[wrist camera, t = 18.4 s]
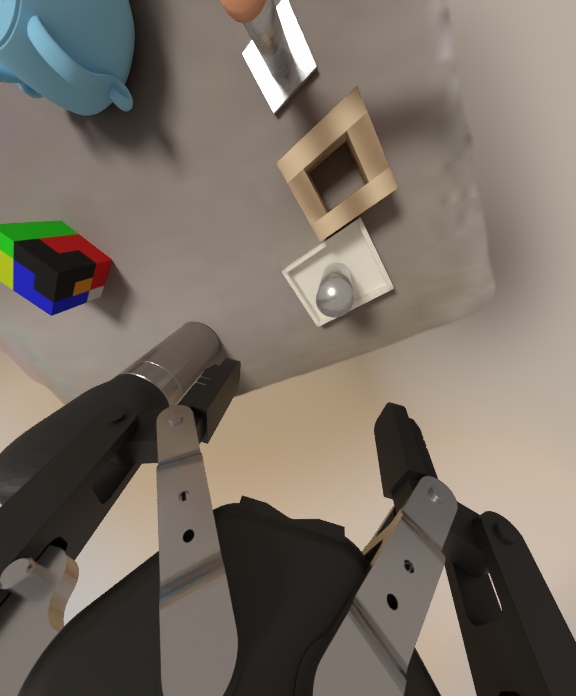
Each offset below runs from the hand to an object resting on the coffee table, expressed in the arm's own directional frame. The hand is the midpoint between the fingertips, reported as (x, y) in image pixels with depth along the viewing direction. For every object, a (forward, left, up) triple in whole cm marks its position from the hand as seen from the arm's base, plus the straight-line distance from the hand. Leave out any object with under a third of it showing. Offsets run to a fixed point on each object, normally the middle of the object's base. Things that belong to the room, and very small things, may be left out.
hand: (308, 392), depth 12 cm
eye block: (+6, +10, -29) cm, 31 cm away
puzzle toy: (-40, +27, -29) cm, 56 cm away
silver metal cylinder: (0, -1, -28) cm, 28 cm away
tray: (0, -1, -29) cm, 29 cm away
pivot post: (+6, +23, -29) cm, 37 cm away
